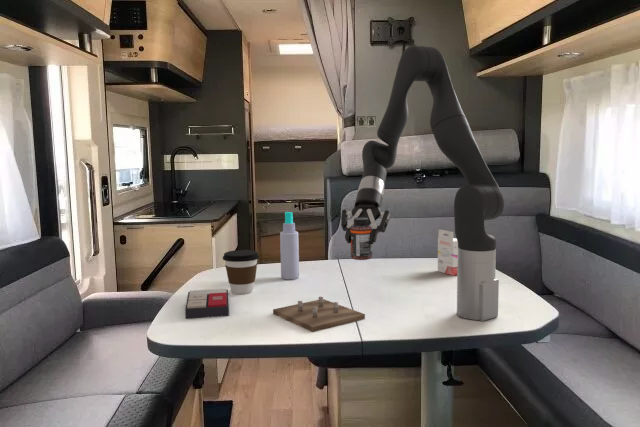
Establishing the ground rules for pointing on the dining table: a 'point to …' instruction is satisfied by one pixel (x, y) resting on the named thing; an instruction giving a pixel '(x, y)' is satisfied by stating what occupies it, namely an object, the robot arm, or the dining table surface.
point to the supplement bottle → (361, 239)
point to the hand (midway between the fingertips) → (359, 241)
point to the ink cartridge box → (447, 253)
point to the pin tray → (318, 314)
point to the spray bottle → (289, 249)
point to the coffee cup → (241, 270)
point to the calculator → (207, 303)
